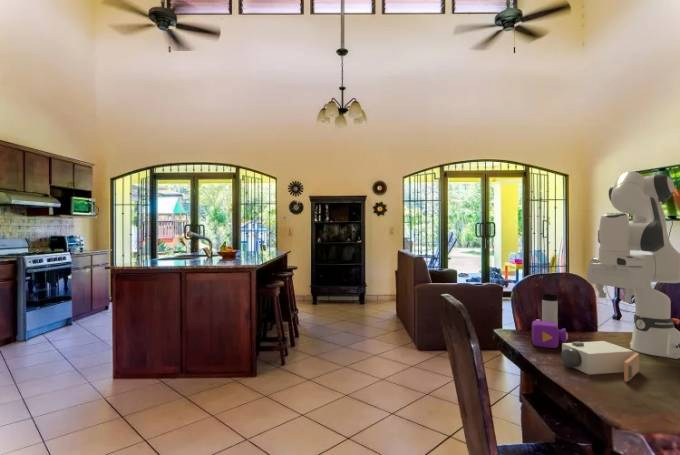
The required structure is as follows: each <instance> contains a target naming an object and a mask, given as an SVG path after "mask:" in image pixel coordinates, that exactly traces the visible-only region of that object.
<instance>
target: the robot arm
mask: <svg viewBox="0 0 680 455" xmlns="http://www.w3.org/2000/svg"><path fill="white" fill-rule="evenodd" d="M674 190H675V183H674V181H673V180H672V178H671V177H670V175H668V174H666V173H657V174H654V175H647V176H644V175H643V174H641V173H639V172H637V171H627V172H625V173H622V174H621V175H619V177H618V178H617V180H616V181H615V183H614V184H613V185H611V186H610V187H609V189H608V199H609V201H610V203H611V204H612V207H613V208H614V209H615V210H616V211H619V212H610V213H609V212H608V213H604V214H602V215H601V216H600V221H599V225H598V226H599V229H598V230H597V242H598V243H599V248H598V258H595V257H594V258H592V259H590V260H589V262H588V266H587V271H586V282H587V283H588V284H593V285H594V284H595V289H596V291H597V292H598V298H601V299H606V298H607V293H606V292H605V290H604V288H605V286H606V287H613V288H619V289H620V288H621V289H624V292H625V295H624V296H622V297H621V299H622V302H623V303H631V302H632V297H633V296H634V303H635V307H634V308H635V310H634V311H635V312H634V314H633V323H634V325H633V329H632V335H631V336H632V337H631V341H629V345H630V346H629V348H630V350H632V351H634V352H638V353H642V354H645V355H649V356H650V355H651V356H655V357H656V356H657V357H663V358H671V359H675V360H676V359H677V360H679V359H680V331H679V330H678V329H677V328H675V324H676V325H679V324H680V319H679V318H675V317H674V318H673V317H672V318H671V311H672V310H671V303H672V301H671V299H670V297H669V296H668V295H667V294H665V293H664V292H661V291H659V290H657V289H655V288H653V286H652V285H651V284H652V283H663V284H664V283H667V284H679V283H680V252H679V251H678V250H676V248H675V247H674V246H673V245H672V243H671V241H670V238H669V235H668V229H667V228H668V227H667V220H666V216H665V211H664V209H663V205H664V204H666V203H667V200H669V199H670V198H672V196H673V194H674ZM661 203H662V204H661ZM628 215H632V223H631V222H630V221H629V220H630V219H629V216H628ZM631 251H636V252H638V251H641V252H642V251H643V252H649V253H651V254H631Z"/></svg>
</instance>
